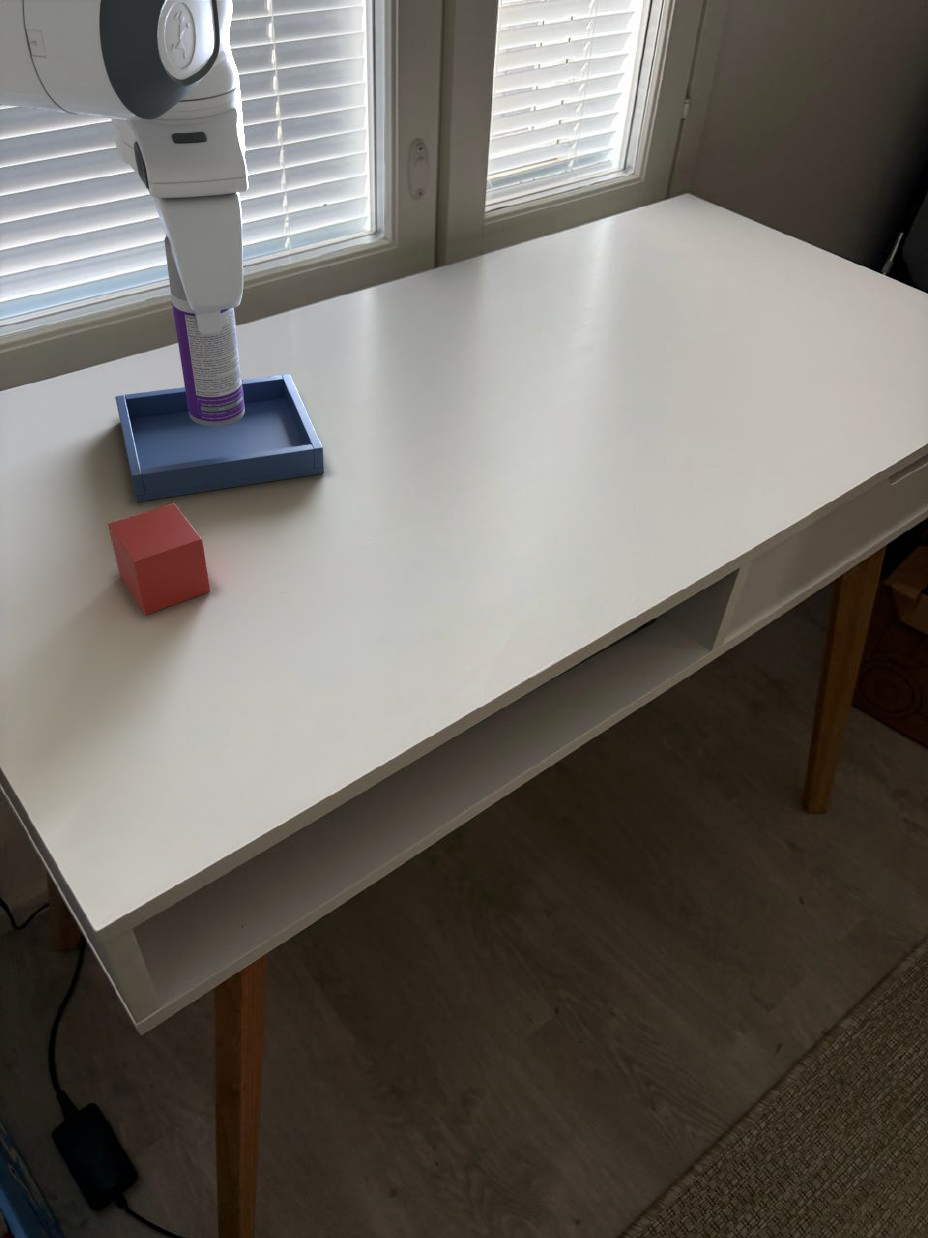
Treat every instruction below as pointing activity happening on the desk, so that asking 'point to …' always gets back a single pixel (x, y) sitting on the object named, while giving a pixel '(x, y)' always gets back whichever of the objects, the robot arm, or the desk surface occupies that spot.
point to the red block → (159, 558)
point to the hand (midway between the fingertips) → (203, 312)
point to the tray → (217, 441)
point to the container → (207, 360)
